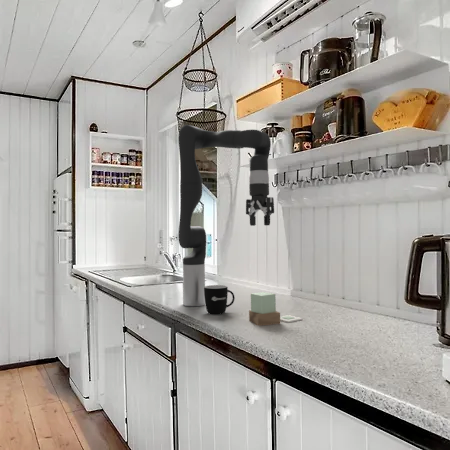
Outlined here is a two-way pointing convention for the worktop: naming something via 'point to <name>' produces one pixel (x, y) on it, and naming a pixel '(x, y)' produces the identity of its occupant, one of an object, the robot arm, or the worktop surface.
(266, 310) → the sage cube
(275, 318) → the walnut block
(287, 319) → the tile
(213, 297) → the mug
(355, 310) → the worktop surface
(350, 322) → the worktop surface
